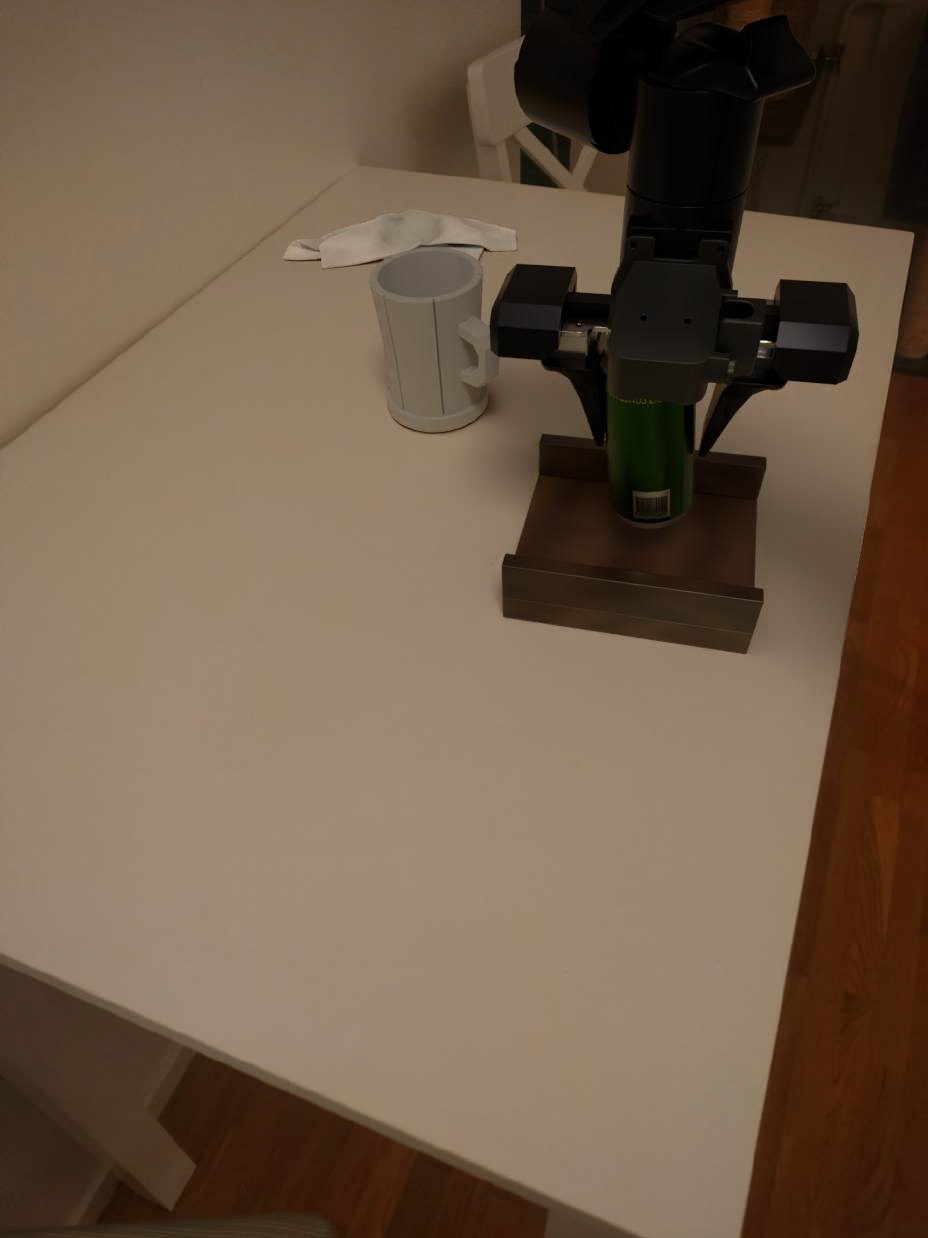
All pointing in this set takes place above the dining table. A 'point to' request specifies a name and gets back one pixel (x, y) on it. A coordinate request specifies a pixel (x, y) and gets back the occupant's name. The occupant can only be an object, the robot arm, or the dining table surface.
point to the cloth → (402, 238)
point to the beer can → (648, 456)
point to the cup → (434, 337)
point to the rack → (638, 553)
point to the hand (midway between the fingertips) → (650, 447)
